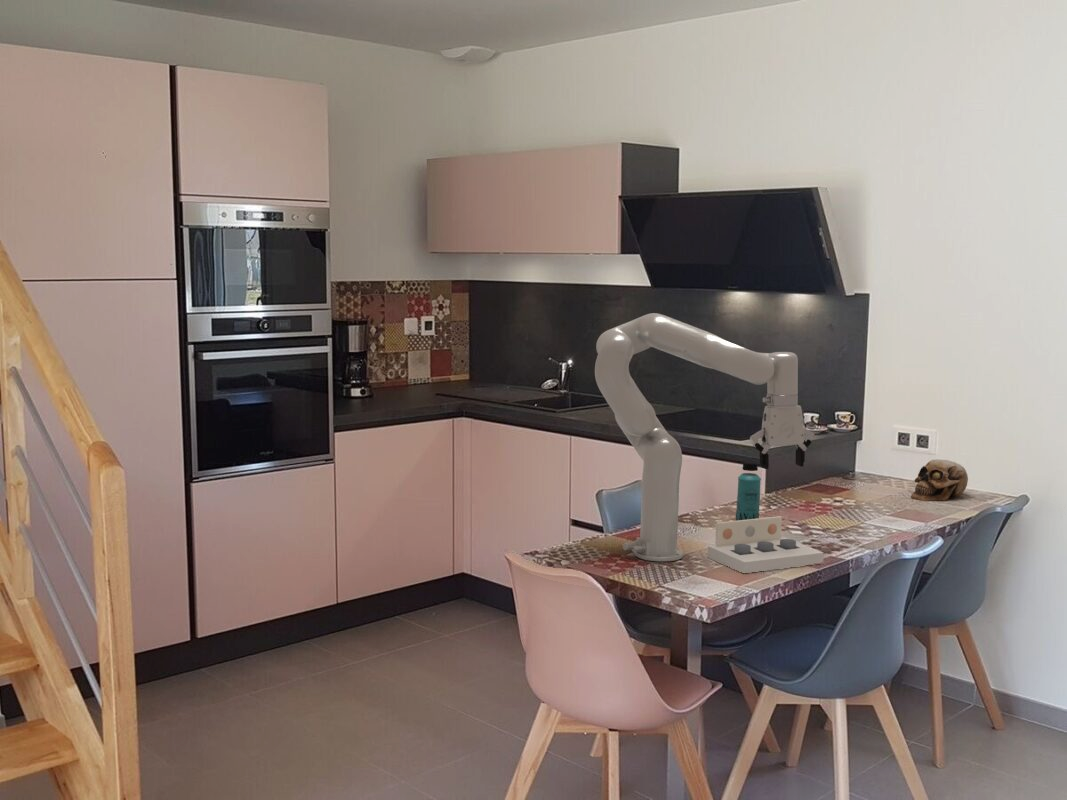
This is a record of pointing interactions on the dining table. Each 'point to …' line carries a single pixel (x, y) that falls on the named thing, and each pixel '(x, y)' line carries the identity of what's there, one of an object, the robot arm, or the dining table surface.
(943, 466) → the brown skull
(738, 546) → the button left
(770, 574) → the dining table surface
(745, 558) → the button panel
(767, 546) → the button middle
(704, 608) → the dining table surface
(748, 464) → the beverage bottle
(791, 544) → the button right
